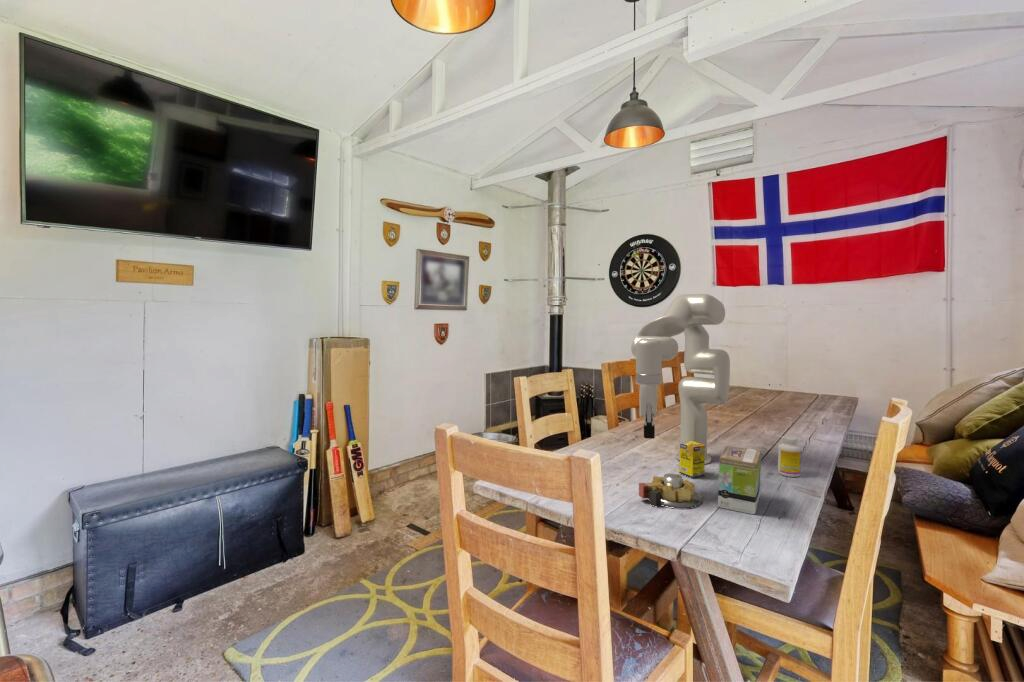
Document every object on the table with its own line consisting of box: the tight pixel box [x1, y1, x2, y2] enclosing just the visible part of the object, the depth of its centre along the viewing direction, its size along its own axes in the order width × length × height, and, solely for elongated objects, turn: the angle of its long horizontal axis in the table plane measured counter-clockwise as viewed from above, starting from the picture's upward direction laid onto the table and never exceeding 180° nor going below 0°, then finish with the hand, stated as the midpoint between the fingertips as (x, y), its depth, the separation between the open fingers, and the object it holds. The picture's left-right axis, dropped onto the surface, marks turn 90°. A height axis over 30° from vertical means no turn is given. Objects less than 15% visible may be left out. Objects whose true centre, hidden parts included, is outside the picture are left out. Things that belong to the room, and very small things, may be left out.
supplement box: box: [678, 441, 706, 479], centre depth 158 cm, size 6×6×11 cm
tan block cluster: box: [638, 473, 696, 502], centre depth 137 cm, size 16×12×4 cm
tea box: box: [717, 445, 762, 515], centre depth 134 cm, size 15×10×15 cm
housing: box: [647, 473, 702, 509], centre depth 138 cm, size 16×18×6 cm
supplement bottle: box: [777, 435, 802, 478], centre depth 158 cm, size 7×7×13 cm
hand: (649, 437), depth 142 cm, fingers closed
